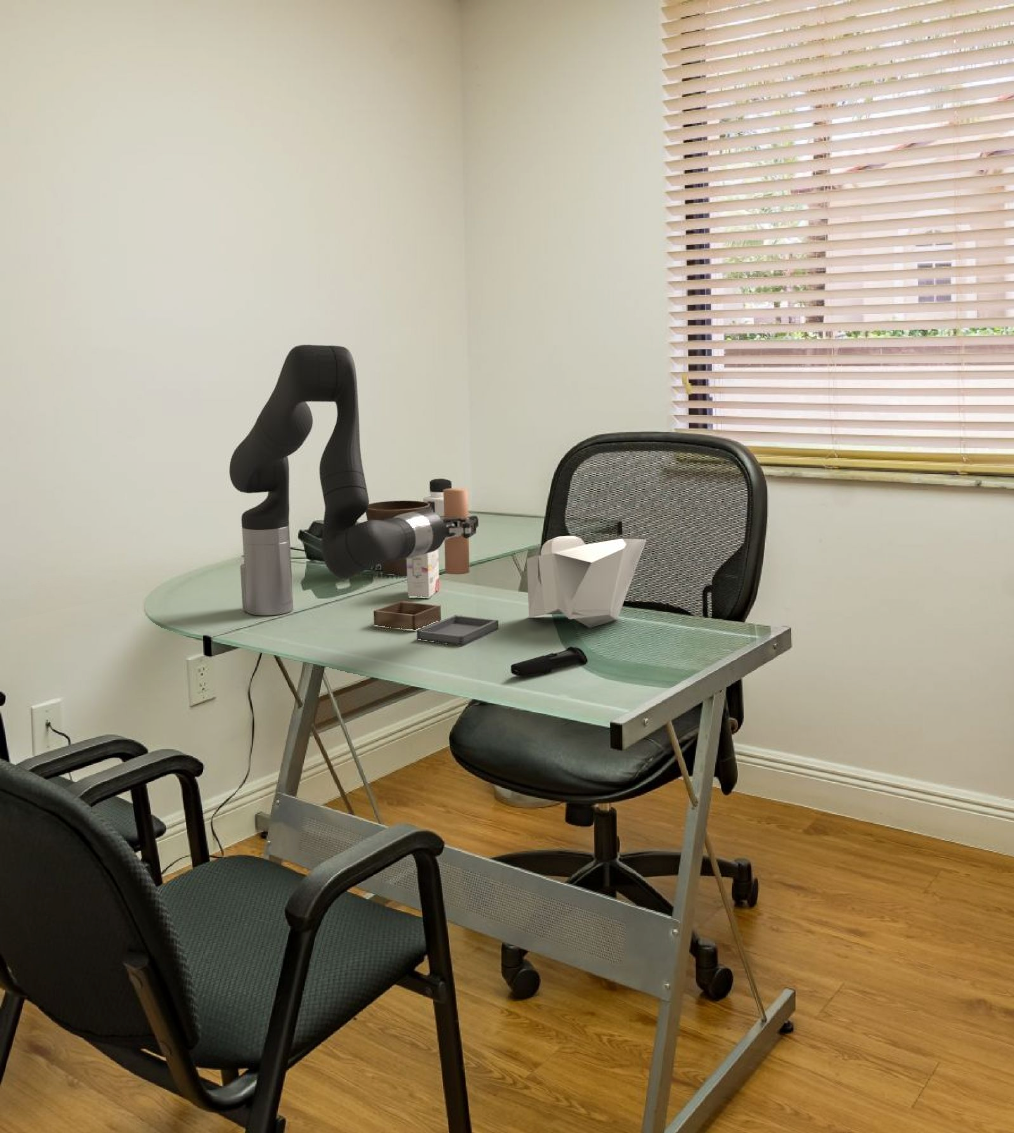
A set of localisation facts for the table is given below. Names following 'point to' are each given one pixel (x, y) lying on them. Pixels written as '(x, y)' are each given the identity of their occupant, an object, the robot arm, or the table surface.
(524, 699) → the table surface
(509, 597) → the table surface
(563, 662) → the electric trimmer
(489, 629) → the desk tray
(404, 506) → the plant pot
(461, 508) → the dowel
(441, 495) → the container
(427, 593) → the ink cartridge box
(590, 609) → the folded paper
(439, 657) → the table surface
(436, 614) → the wooden square frame
